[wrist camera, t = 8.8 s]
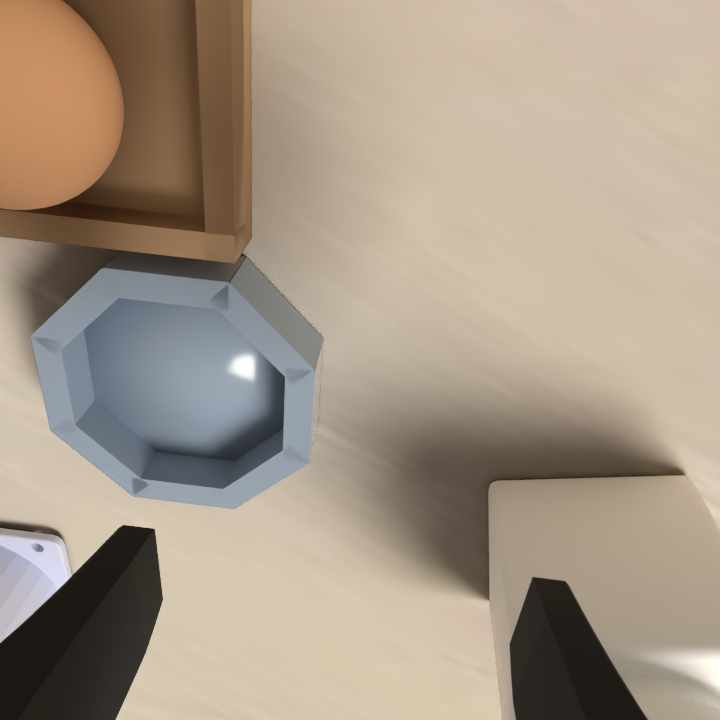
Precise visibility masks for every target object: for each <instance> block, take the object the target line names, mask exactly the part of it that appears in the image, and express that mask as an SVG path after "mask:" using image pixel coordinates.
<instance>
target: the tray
mask: <svg viewBox="0 0 720 720" xmlns="http://www.w3.org/2000/svg"><path fill="white" fill-rule="evenodd" d="M63 1H64V2H65V3H67V4H68V5H69V6H70V7H71V8H72V9H73V10H74V11H76V12H77V13H78V14H79V15H80V16H81V17H82V18H83V19H84V20H85V21H86V22H87V24H88V25H89V26H90V27H91V28H92V29H93V31H94V32H95V33H96V35H97V36H98V37H99V39H100V40H101V42H102V43H103V45H104V46H105V48H106V50H107V52H108V54H109V55H110V57H111V59H112V62H113V64H114V67H115V69H116V71H117V75H118V78H119V81H120V84H121V89H122V95H123V103H124V121H123V129H122V134H121V139H120V143H119V146H118V149H117V151H116V154H115V156H114V158H113V159H112V161H111V163H110V165H109V166H108V168H107V169H106V170H105V172H104V173H103V174H102V176H101V177H100V178H99V179H98V180H97V181H96V182H95V183H94V184H93V185H92V186H90V187H89V188H88V189H87V190H85V191H84V192H82V193H81V194H79V195H78V196H76V197H74V198H72V199H69V200H67V201H65V202H63V203H60V204H57V205H53V206H50V207H45V208H38V209H31V210H11V209H2V208H0V236H1V237H9V238H18V239H27V240H35V241H44V242H53V243H61V244H70V245H79V246H88V247H96V248H105V249H114V250H122V251H131V252H140V253H148V254H157V255H166V256H174V257H183V258H192V259H201V260H209V261H218V262H227V263H236V261H237V260H238V258H239V257H240V255H241V254H242V252H243V251H244V249H245V248H246V246H247V245H248V243H249V242H250V240H251V239H252V215H251V0H63Z"/></svg>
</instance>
